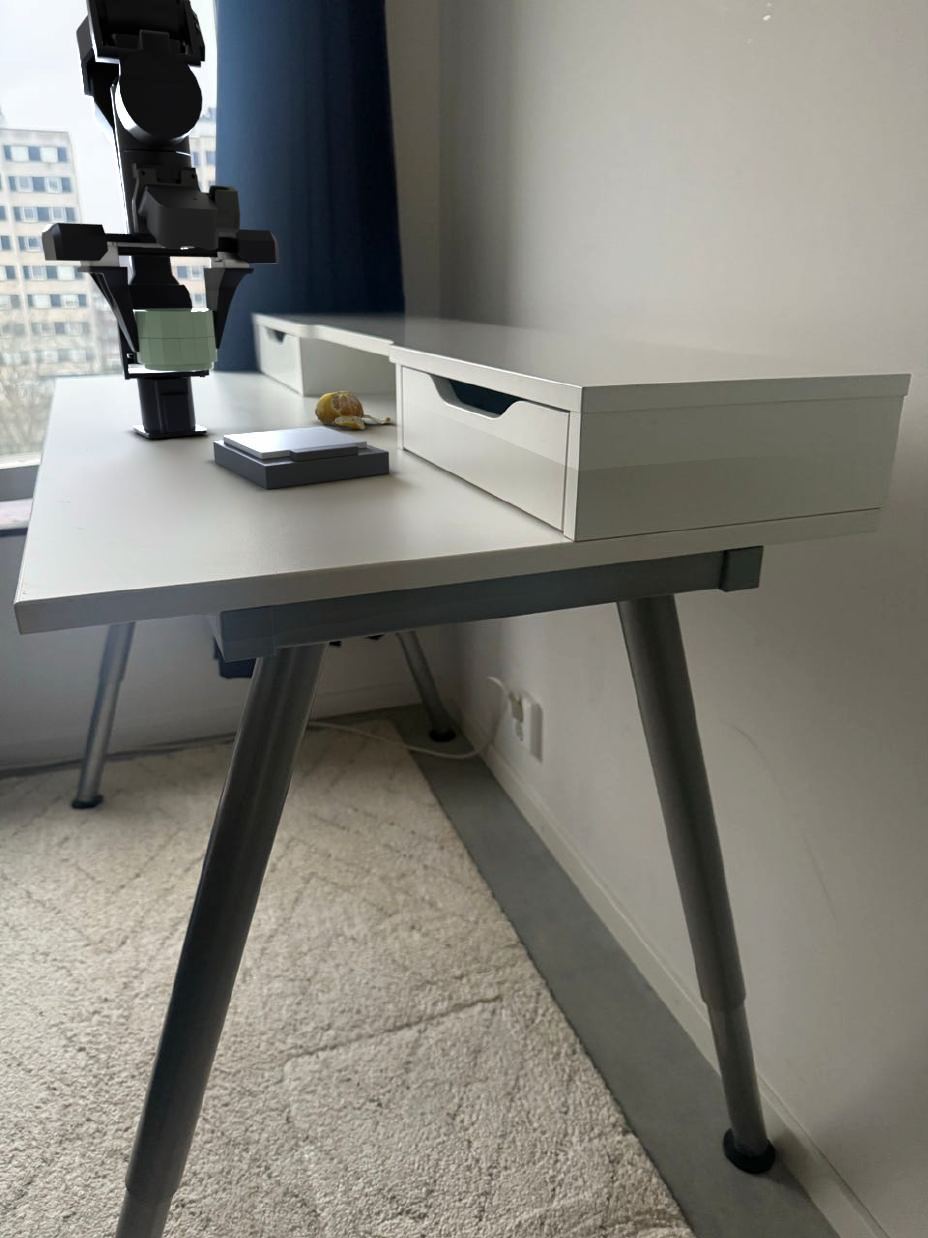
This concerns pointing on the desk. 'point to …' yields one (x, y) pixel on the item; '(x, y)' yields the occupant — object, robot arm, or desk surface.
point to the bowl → (176, 339)
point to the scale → (299, 456)
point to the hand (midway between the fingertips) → (176, 350)
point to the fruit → (343, 410)
